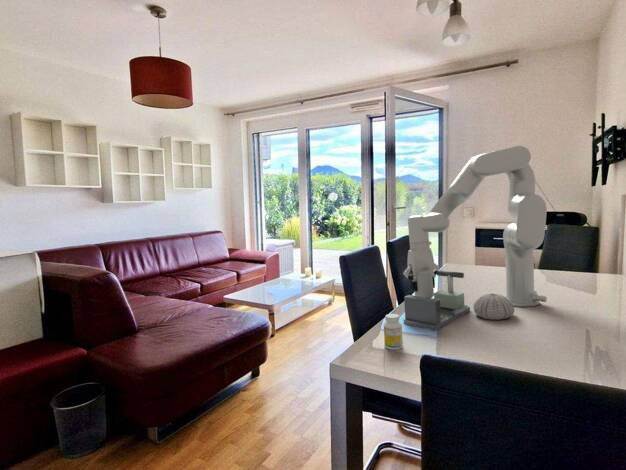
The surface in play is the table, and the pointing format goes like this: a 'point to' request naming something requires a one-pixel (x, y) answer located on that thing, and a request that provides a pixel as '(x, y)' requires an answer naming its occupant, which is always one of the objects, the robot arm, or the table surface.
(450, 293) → the grey-green handled block
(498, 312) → the sea urchin shell
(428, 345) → the table surface
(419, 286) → the can
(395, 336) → the supplement bottle
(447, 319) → the base
